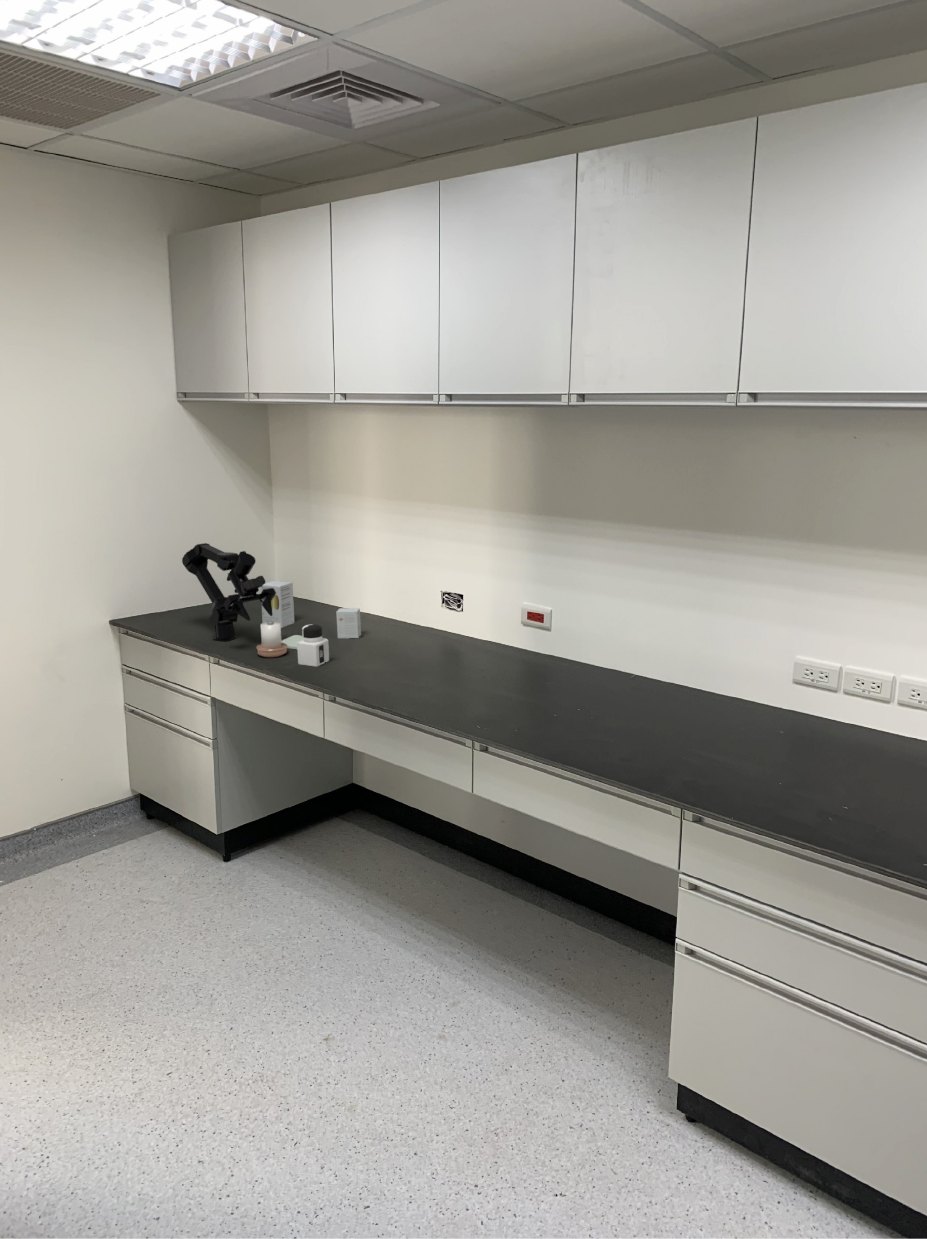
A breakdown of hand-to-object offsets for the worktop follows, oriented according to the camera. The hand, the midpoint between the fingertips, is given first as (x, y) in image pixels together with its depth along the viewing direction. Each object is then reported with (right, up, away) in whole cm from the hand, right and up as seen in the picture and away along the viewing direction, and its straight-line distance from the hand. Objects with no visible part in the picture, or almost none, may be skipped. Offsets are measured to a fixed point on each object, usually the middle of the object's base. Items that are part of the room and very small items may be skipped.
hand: (260, 617), depth 311 cm
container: (+21, -16, -11) cm, 28 cm away
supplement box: (-2, -3, +41) cm, 41 cm away
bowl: (+4, -13, -1) cm, 14 cm away
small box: (+28, -7, +22) cm, 37 cm away
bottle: (+4, -10, -2) cm, 11 cm away
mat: (+12, -9, +13) cm, 20 cm away
